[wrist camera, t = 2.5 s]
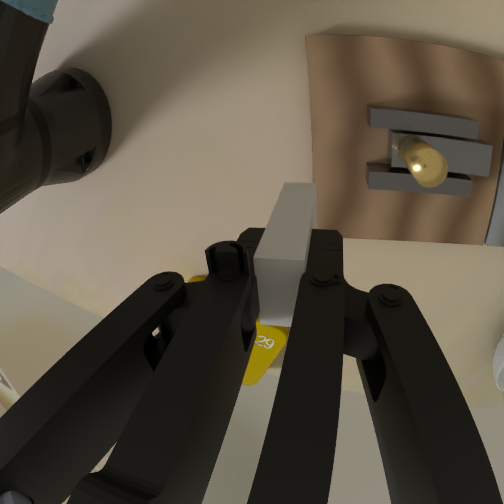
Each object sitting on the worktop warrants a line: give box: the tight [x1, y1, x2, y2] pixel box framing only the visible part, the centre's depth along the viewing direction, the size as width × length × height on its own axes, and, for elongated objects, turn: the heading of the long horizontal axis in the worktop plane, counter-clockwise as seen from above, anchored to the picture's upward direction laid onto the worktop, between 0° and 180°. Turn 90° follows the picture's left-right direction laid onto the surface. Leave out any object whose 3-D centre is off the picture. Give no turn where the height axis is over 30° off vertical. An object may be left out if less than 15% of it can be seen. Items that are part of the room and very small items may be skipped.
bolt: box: [388, 129, 493, 188], centre depth 21 cm, size 10×3×7 cm, turn 96°
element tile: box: [188, 276, 289, 386], centre depth 44 cm, size 15×15×5 cm
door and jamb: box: [305, 35, 504, 247], centre depth 25 cm, size 28×20×2 cm
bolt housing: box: [365, 105, 479, 197], centre depth 22 cm, size 22×7×4 cm, turn 96°
